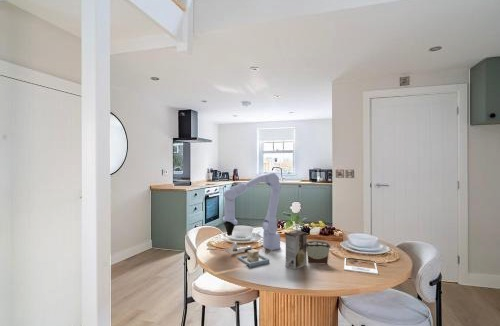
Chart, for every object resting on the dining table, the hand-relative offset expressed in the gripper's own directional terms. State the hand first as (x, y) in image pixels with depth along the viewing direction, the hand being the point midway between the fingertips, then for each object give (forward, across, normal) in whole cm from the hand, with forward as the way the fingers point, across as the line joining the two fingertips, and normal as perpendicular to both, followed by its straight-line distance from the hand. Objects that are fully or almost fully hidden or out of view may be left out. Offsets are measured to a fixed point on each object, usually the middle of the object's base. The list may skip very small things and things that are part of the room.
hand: (229, 235), depth 160 cm
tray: (+9, +20, +3) cm, 22 cm away
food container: (+10, +36, +31) cm, 48 cm away
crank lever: (+7, +6, +5) cm, 11 cm away
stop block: (+9, +20, +3) cm, 22 cm away
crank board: (+9, +2, +5) cm, 11 cm away
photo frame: (+10, +51, +45) cm, 69 cm away
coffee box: (+10, +35, +18) cm, 41 cm away
